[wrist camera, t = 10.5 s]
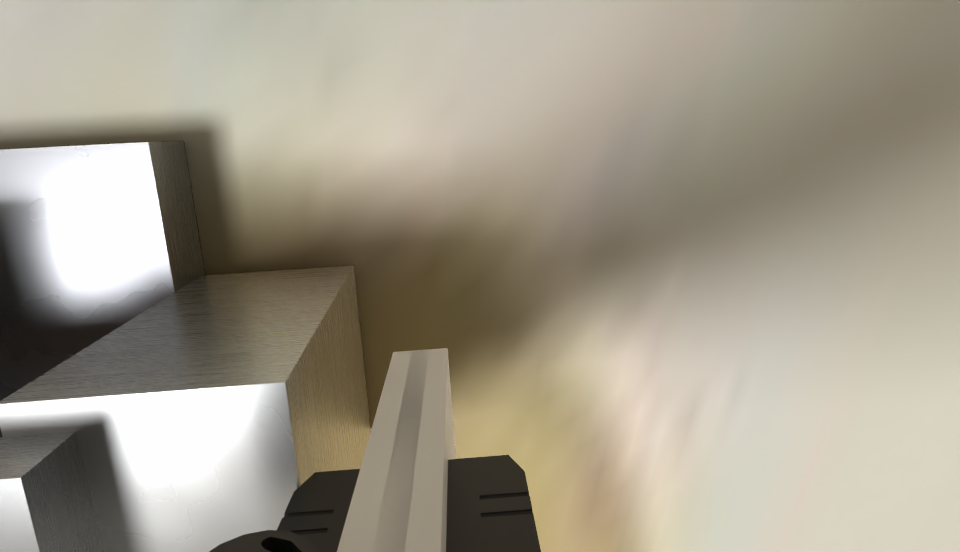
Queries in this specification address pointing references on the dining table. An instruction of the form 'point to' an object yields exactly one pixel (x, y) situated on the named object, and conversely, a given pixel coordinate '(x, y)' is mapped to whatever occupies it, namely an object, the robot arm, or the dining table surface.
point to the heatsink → (88, 246)
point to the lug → (189, 418)
